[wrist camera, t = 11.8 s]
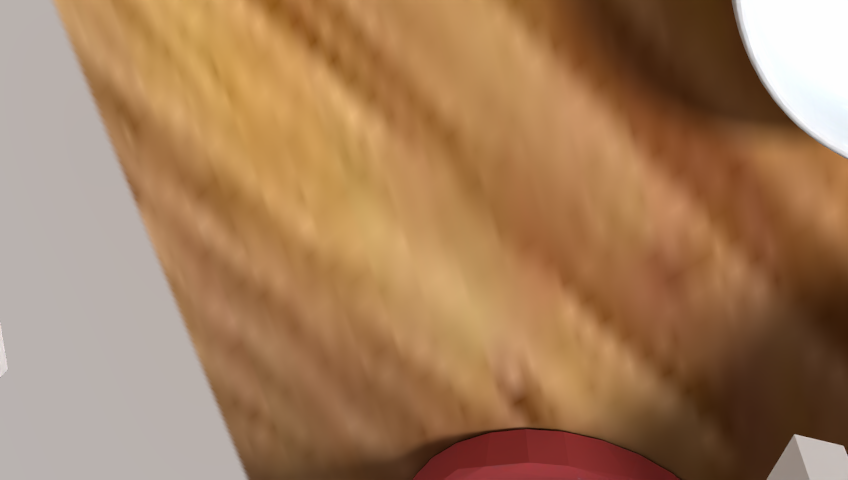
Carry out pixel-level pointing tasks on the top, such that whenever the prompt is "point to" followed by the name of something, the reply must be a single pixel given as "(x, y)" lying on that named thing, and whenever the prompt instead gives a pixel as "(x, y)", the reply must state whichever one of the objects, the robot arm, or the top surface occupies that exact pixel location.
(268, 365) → the top surface
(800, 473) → the robot arm
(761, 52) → the serving bowl
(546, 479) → the stand mixer
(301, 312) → the top surface
